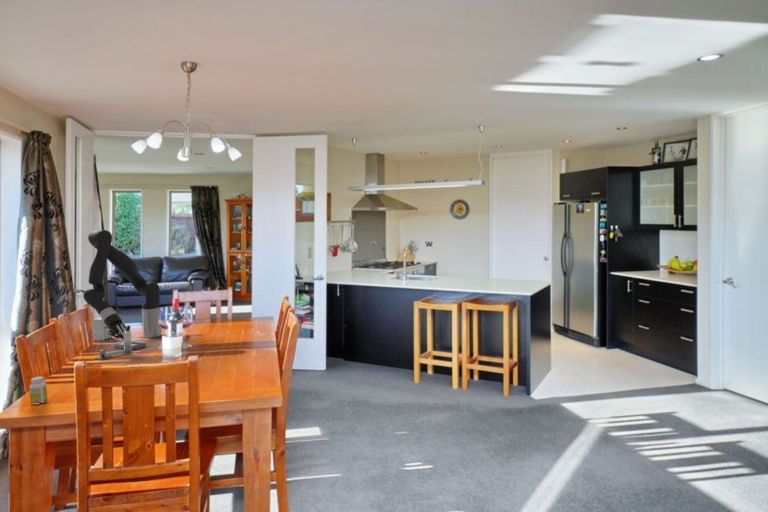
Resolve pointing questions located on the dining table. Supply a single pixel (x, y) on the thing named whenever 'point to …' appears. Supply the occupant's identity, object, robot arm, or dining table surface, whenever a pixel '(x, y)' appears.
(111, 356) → the hinge foot
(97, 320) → the supplement box
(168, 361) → the dining table surface
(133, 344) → the server lid
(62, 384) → the dining table surface
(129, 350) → the cable arm
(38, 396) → the supplement bottle
